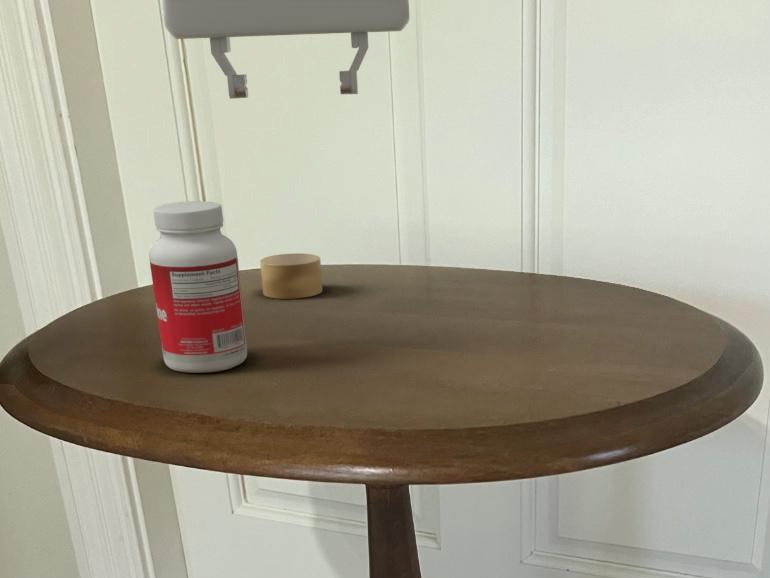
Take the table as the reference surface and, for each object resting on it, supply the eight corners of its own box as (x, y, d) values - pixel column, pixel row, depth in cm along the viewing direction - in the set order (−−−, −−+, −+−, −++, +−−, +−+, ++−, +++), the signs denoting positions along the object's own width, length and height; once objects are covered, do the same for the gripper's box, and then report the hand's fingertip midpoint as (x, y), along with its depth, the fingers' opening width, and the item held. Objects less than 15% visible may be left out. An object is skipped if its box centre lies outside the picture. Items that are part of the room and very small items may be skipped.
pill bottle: (173, 352, 83) (153, 200, 78) (253, 350, 83) (238, 198, 78) (156, 376, 78) (132, 214, 72) (241, 374, 77) (224, 211, 72)
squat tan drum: (260, 300, 98) (257, 266, 97) (265, 287, 103) (262, 254, 102) (321, 297, 98) (319, 263, 97) (323, 284, 103) (321, 252, 102)
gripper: (140, -95, 83) (166, 102, 90) (406, -104, 83) (412, 94, 90) (156, -88, 89) (178, 98, 95) (405, -96, 89) (410, 89, 96)
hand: (294, 96), depth 93 cm, fingers open, 8 cm apart
